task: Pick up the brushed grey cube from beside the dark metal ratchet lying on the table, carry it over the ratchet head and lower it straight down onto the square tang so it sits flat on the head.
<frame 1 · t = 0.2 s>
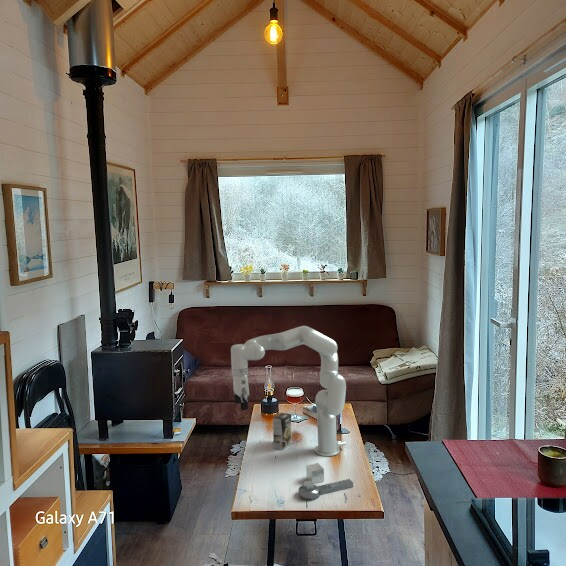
hand: (241, 406, 249), 31 cm above the table, tool pointing down, fingers open, 9 cm apart
ratchet: (309, 494, 228), on the table
coffee box: (282, 445, 278), on the table
brushed grey cube: (315, 479, 241), on the table
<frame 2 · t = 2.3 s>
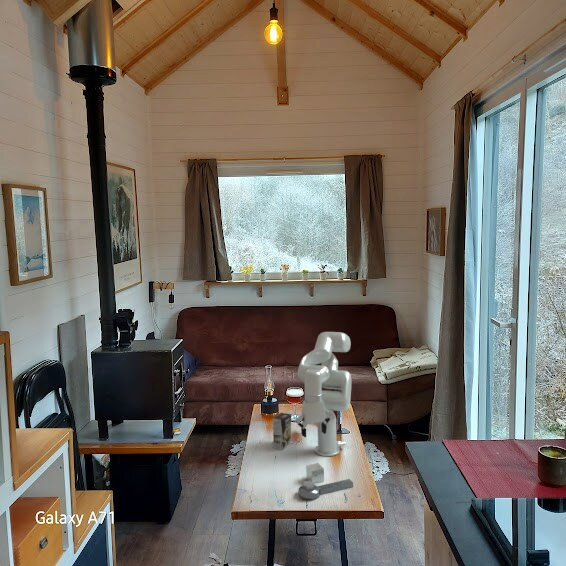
hand: (314, 434, 238), 22 cm above the table, tool pointing down, fingers open, 9 cm apart
nothing on the table moved.
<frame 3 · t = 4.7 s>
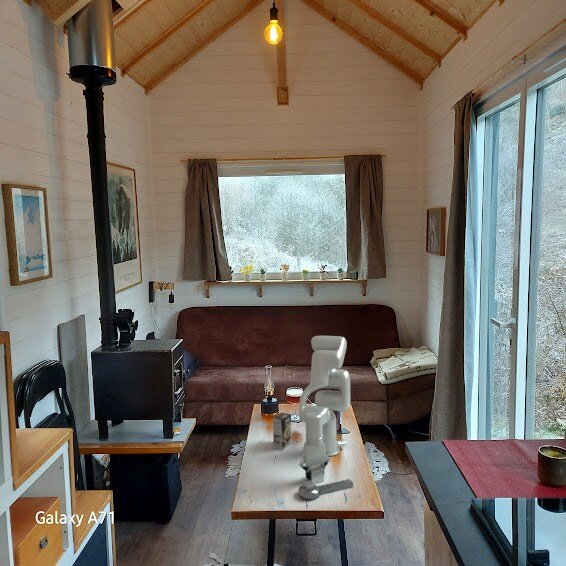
hand: (315, 477, 241), 1 cm above the table, tool pointing down, fingers closed on brushed grey cube, 6 cm apart
brushed grey cube: (315, 479, 241), on the table, touching gripper
everything else where it was.
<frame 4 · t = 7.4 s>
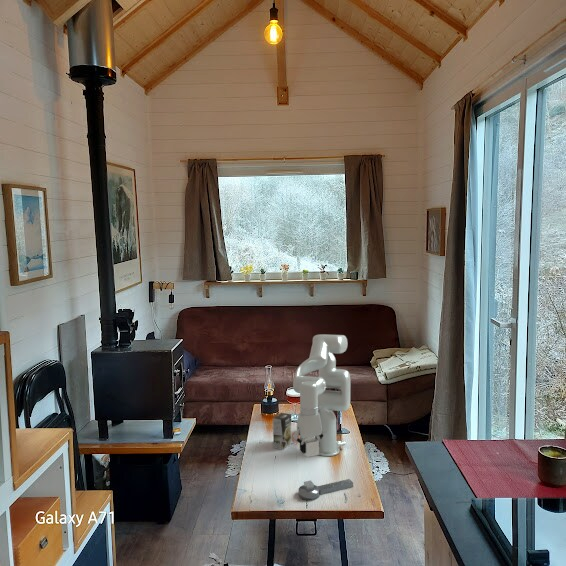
hand: (309, 450, 229), 18 cm above the table, tool pointing down, fingers closed on brushed grey cube, 6 cm apart
brushed grey cube: (309, 452, 229), point 17 cm above the table, touching gripper
everything else where it was.
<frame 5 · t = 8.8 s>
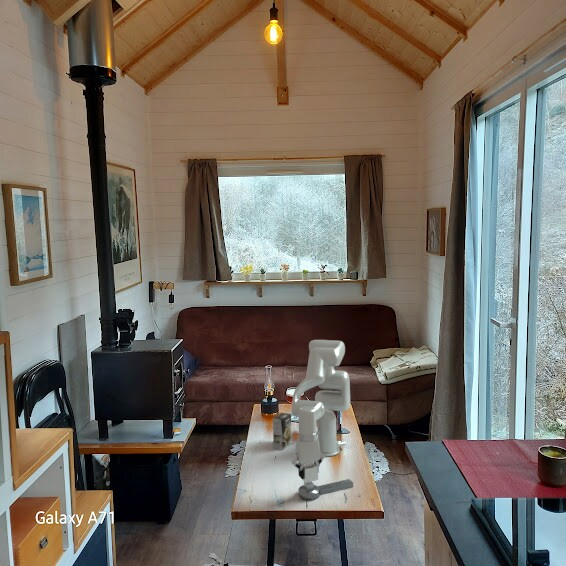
hand: (308, 475, 227), 9 cm above the table, tool pointing down, fingers closed on brushed grey cube, 6 cm apart
brushed grey cube: (308, 478, 227), point 8 cm above the table, touching gripper
everything else where it was.
when the fingers open (5 cm above the table, at t = 10.2 s): brushed grey cube stays where it is, resting on ratchet.
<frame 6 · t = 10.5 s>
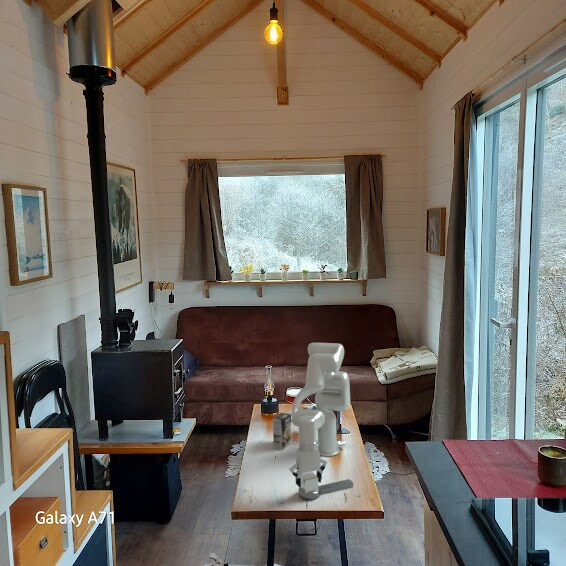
hand: (308, 483, 227), 5 cm above the table, tool pointing down, fingers open, 9 cm apart
brushed grey cube: (309, 489, 228), point 2 cm above the table, touching ratchet
everything else where it was.
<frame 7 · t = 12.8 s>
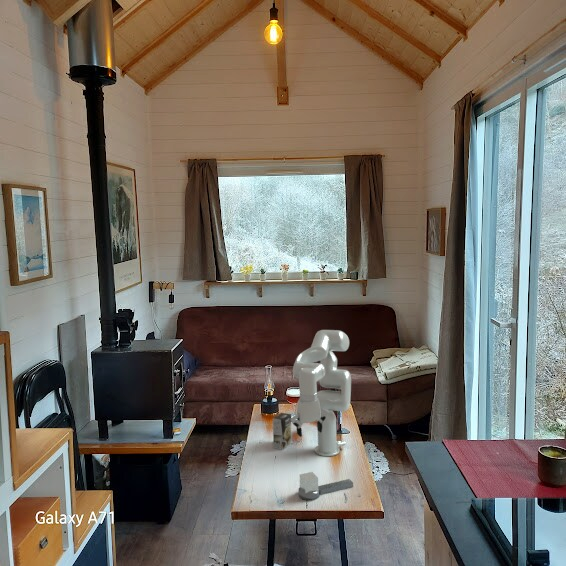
hand: (309, 433, 233), 24 cm above the table, tool pointing down, fingers open, 9 cm apart
nothing on the table moved.
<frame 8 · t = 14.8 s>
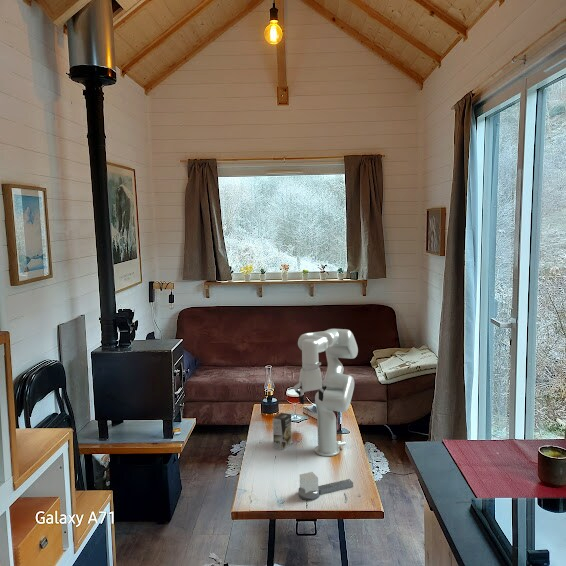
hand: (311, 401, 246), 33 cm above the table, tool pointing down, fingers open, 9 cm apart
nothing on the table moved.
at the end: brushed grey cube 0.0 cm off-centre on the ratchet, point 2.5 cm above the ratchet's base; brushed grey cube tilted 0°; the gripper is holding nothing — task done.
